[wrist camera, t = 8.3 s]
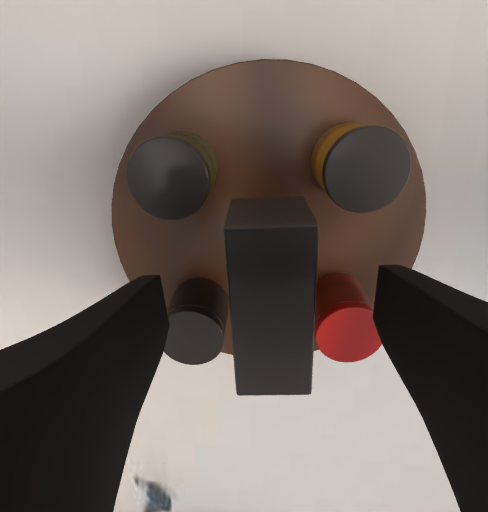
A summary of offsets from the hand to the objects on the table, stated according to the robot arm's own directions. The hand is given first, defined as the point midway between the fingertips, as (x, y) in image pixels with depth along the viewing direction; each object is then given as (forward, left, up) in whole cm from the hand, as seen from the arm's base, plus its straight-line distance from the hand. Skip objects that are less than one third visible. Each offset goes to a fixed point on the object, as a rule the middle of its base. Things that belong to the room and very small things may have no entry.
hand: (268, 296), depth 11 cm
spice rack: (0, 0, -7) cm, 7 cm away
